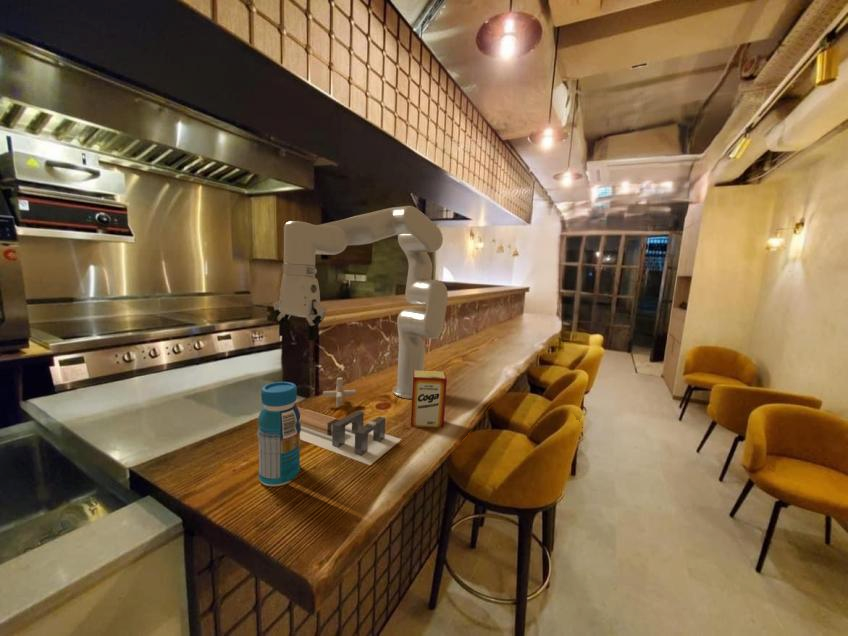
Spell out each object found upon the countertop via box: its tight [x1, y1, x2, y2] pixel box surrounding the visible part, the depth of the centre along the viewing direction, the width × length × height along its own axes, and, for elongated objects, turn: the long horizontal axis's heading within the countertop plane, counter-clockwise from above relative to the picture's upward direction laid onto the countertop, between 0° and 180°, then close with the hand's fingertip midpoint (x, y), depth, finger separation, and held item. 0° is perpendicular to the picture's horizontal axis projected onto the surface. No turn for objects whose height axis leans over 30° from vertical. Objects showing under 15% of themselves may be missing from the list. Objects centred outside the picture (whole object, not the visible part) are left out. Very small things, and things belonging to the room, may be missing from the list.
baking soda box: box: [410, 370, 448, 429], centre depth 98 cm, size 10×6×16 cm
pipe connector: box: [322, 377, 357, 407], centre depth 107 cm, size 10×10×10 cm
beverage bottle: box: [256, 381, 301, 487], centre depth 71 cm, size 8×8×20 cm
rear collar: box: [332, 409, 365, 448], centre depth 87 cm, size 10×2×6 cm, turn 153°
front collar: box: [355, 416, 386, 456], centre depth 84 cm, size 10×2×6 cm, turn 153°
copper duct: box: [297, 406, 340, 436], centre depth 92 cm, size 18×3×3 cm, turn 63°
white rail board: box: [300, 408, 402, 466], centre depth 90 cm, size 14×34×2 cm, turn 63°
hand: (298, 337), depth 87 cm, fingers open, 9 cm apart
